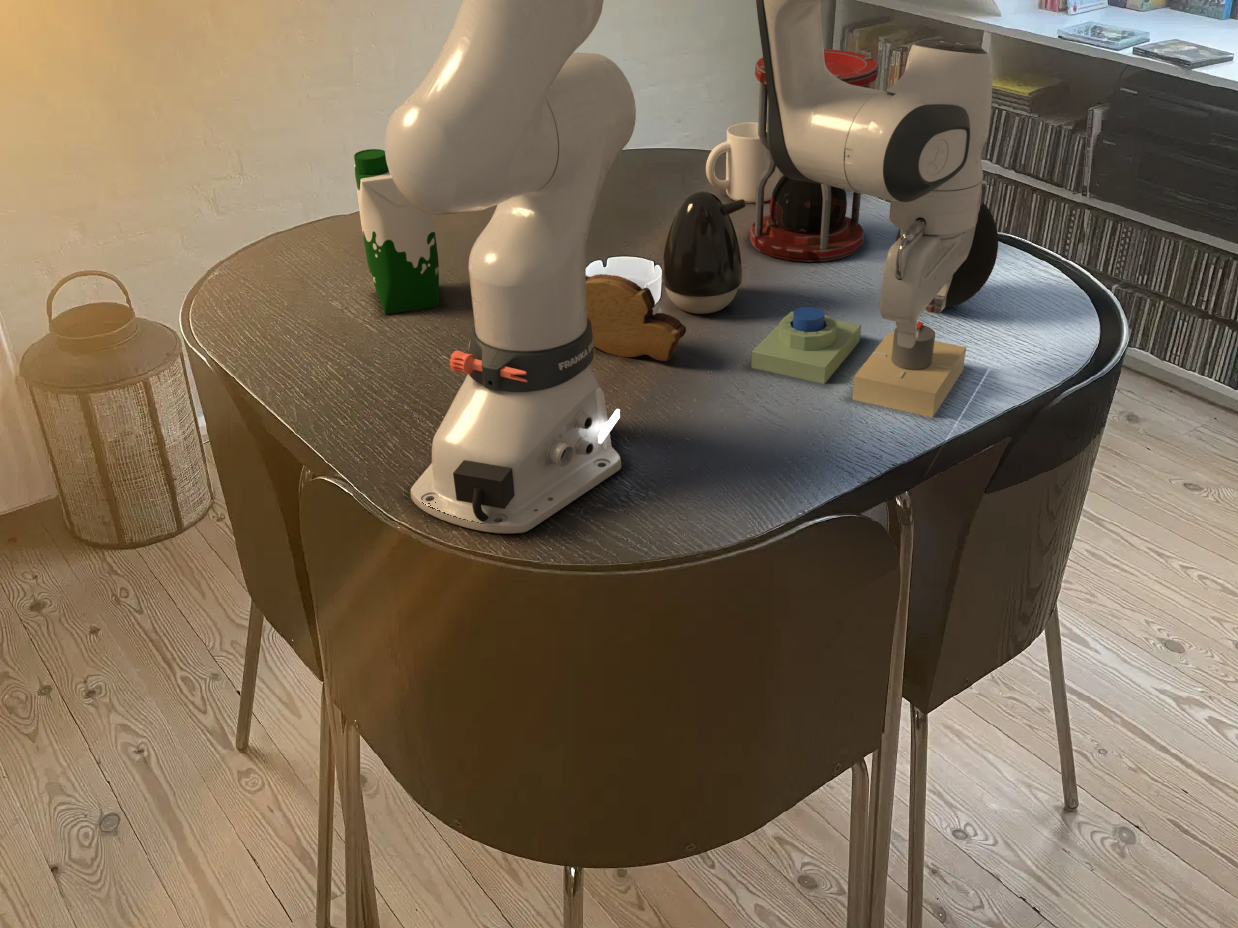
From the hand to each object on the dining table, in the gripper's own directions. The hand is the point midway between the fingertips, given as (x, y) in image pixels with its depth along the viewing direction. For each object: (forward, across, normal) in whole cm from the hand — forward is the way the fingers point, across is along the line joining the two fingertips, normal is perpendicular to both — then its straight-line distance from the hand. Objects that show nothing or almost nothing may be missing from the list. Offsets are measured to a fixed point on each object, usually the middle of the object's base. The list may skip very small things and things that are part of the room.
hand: (921, 327), depth 127 cm
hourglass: (+7, +35, +28) cm, 45 cm away
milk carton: (+7, -7, +67) cm, 67 cm away
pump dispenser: (+7, +9, +31) cm, 33 cm away
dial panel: (+8, 0, +1) cm, 8 cm away
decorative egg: (+8, +22, +4) cm, 24 cm away
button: (+4, +2, +14) cm, 15 cm away
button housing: (+7, +2, +14) cm, 16 cm away
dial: (+4, 0, +1) cm, 5 cm away
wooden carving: (+7, -7, +34) cm, 35 cm away
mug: (+7, +48, +44) cm, 65 cm away
